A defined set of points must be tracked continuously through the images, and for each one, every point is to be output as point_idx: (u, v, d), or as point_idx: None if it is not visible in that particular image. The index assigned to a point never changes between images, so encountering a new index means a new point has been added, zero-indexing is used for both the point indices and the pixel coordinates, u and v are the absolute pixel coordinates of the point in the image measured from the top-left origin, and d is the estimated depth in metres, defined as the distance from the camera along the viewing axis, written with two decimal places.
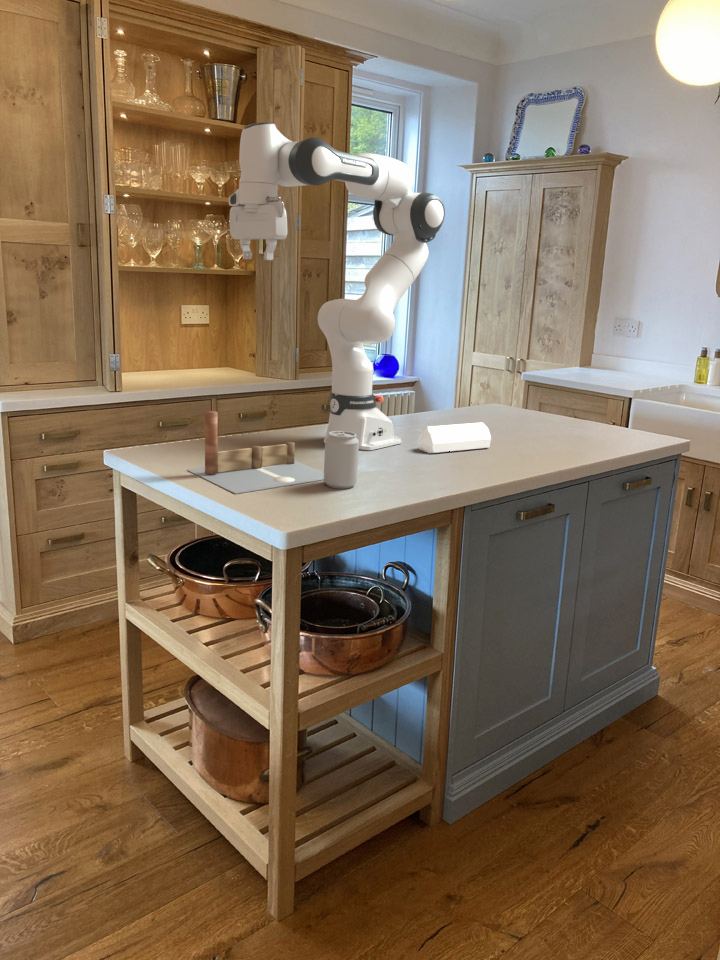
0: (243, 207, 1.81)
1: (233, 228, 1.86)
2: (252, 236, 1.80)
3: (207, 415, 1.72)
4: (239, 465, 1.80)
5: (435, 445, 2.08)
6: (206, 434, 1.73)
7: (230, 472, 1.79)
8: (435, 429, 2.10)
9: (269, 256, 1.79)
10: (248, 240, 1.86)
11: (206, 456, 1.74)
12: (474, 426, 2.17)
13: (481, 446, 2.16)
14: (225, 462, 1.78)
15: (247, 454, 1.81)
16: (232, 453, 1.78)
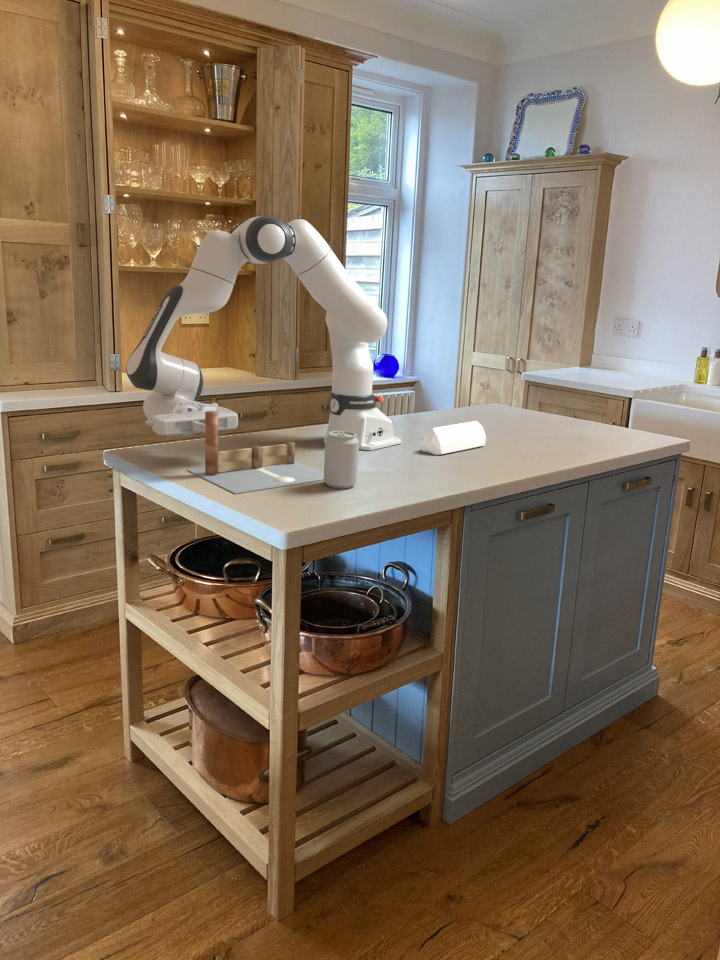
0: None
1: None
2: (198, 432, 1.79)
3: (207, 415, 1.71)
4: (239, 465, 1.80)
5: (442, 446, 2.07)
6: (206, 434, 1.73)
7: (230, 472, 1.79)
8: (440, 430, 2.09)
9: (203, 429, 1.75)
10: None
11: (206, 456, 1.74)
12: (471, 425, 2.18)
13: (479, 444, 2.18)
14: (226, 462, 1.78)
15: (247, 454, 1.81)
16: (232, 453, 1.78)
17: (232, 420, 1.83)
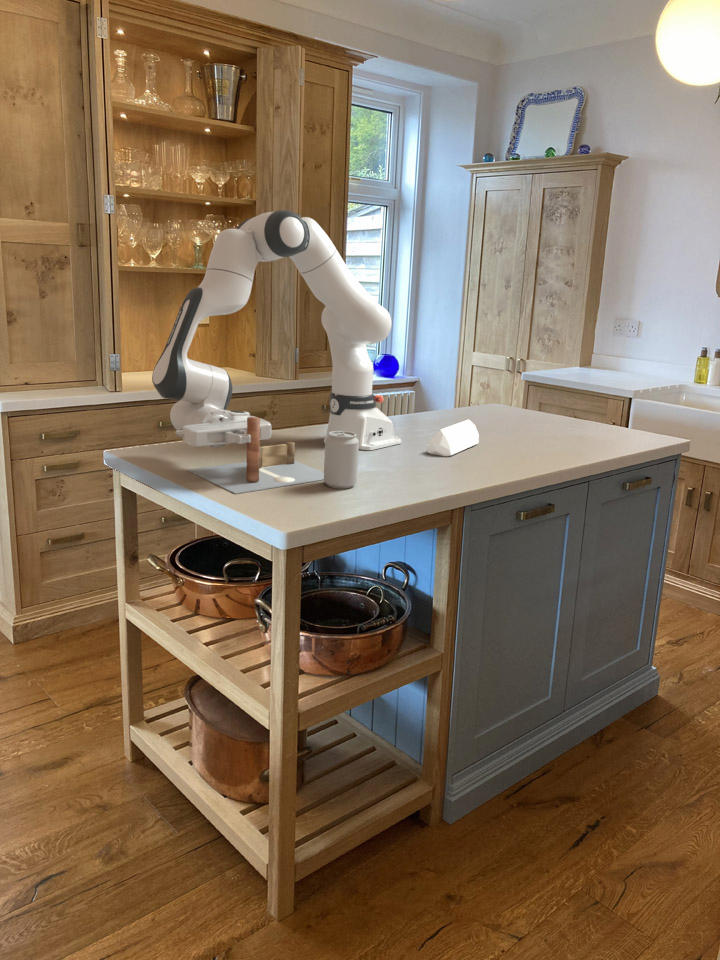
0: None
1: None
2: None
3: (256, 421, 1.68)
4: None
5: (451, 447, 2.06)
6: (254, 441, 1.69)
7: (230, 472, 1.79)
8: (446, 431, 2.08)
9: (238, 440, 1.66)
10: (239, 433, 1.70)
11: (253, 464, 1.70)
12: (466, 424, 2.19)
13: (474, 443, 2.20)
14: None
15: None
16: None
17: (266, 430, 1.74)
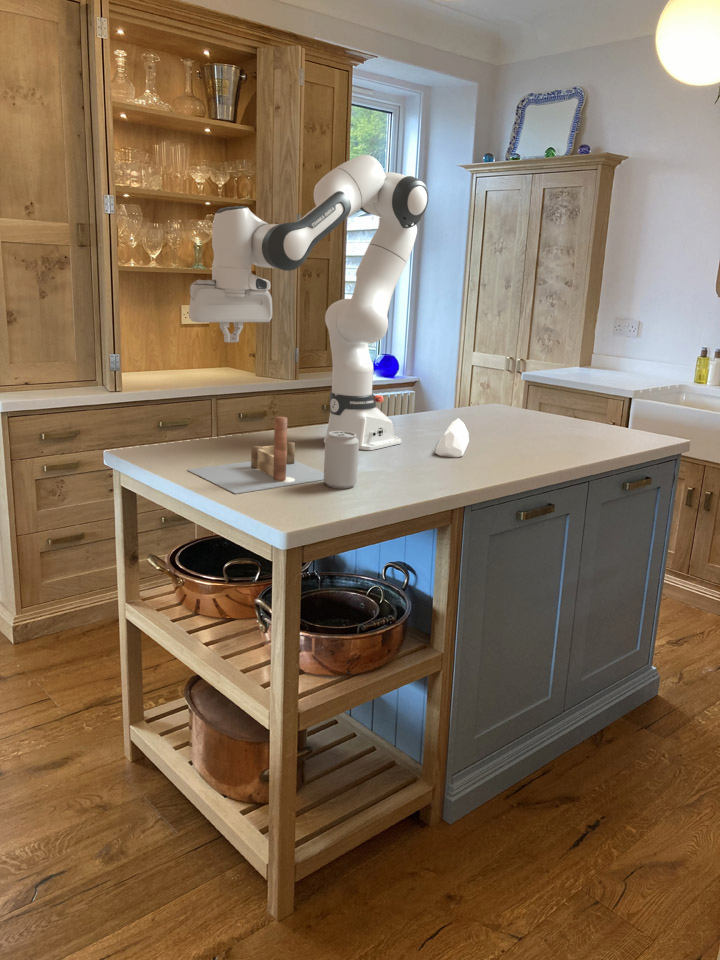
0: None
1: None
2: None
3: (286, 421, 1.70)
4: None
5: (462, 448, 2.06)
6: (284, 440, 1.71)
7: (230, 472, 1.79)
8: (454, 432, 2.07)
9: (225, 338, 1.79)
10: (236, 323, 1.79)
11: (283, 463, 1.72)
12: (459, 423, 2.20)
13: None
14: None
15: None
16: None
17: None
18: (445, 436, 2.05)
